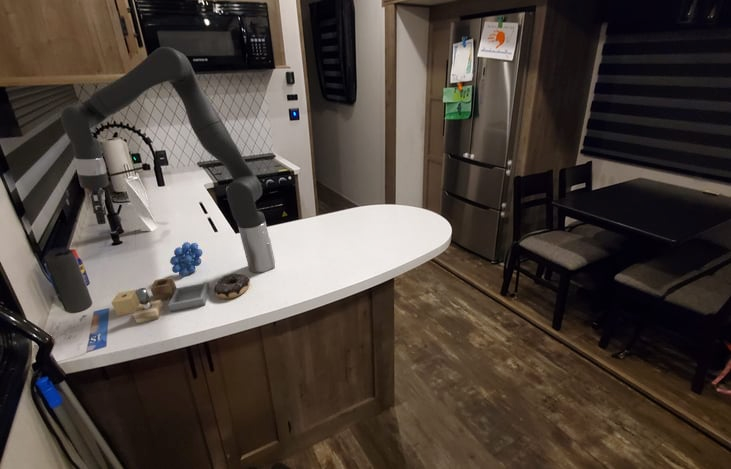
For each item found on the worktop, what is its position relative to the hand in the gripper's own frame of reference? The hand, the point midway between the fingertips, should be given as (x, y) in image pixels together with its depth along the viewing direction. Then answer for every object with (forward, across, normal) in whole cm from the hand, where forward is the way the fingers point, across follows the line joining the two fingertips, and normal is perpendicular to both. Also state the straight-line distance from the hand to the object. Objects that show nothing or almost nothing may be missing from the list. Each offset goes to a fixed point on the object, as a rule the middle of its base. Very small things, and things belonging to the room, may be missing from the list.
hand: (102, 219), depth 124 cm
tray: (+20, -30, -21) cm, 41 cm away
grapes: (+21, -9, -24) cm, 33 cm away
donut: (+18, -33, -34) cm, 50 cm away
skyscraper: (+26, +52, -14) cm, 60 cm away
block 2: (+21, -21, -14) cm, 33 cm away
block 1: (+23, -22, -4) cm, 32 cm away
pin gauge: (+22, -30, -9) cm, 38 cm away
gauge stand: (+22, -30, -9) cm, 38 cm away
